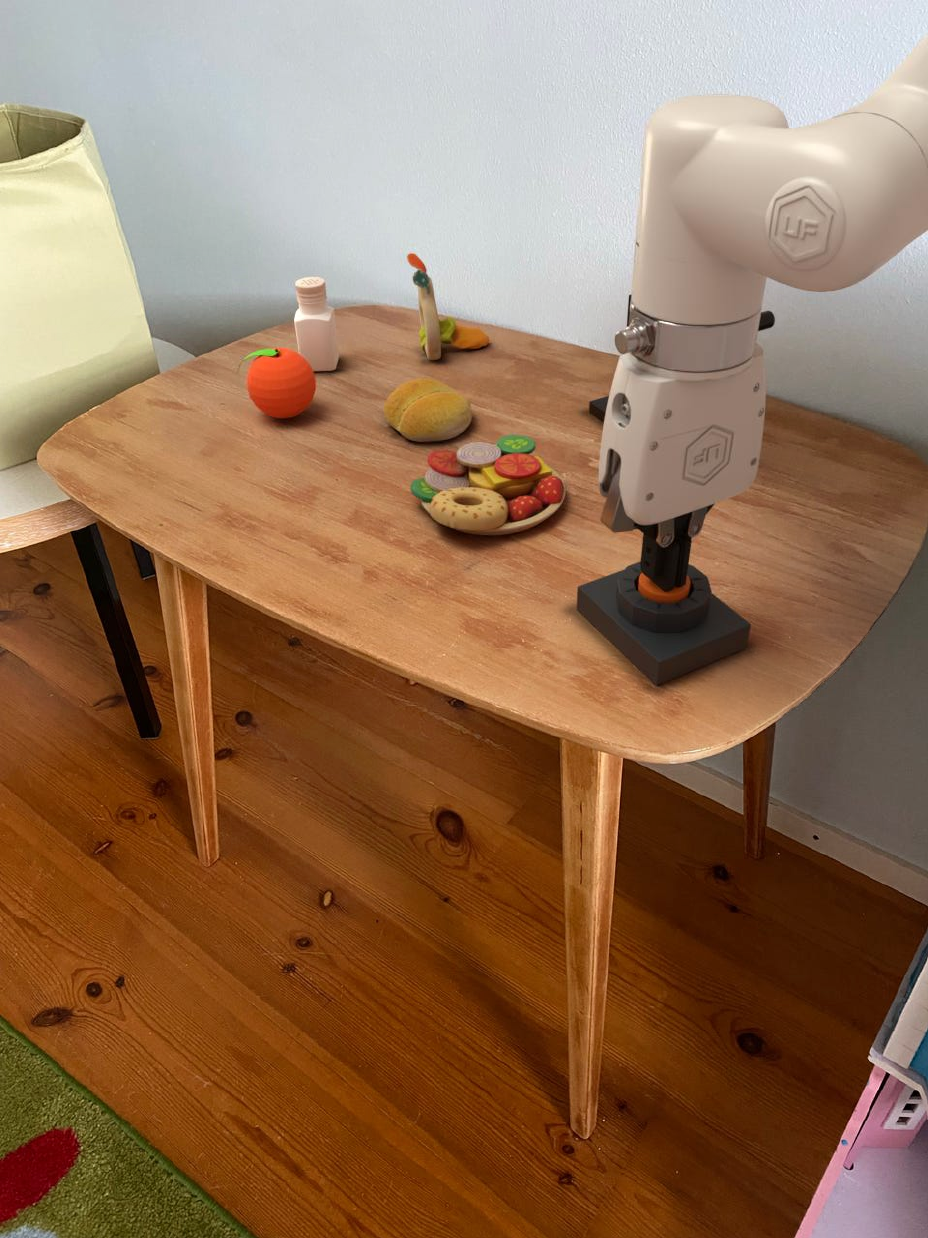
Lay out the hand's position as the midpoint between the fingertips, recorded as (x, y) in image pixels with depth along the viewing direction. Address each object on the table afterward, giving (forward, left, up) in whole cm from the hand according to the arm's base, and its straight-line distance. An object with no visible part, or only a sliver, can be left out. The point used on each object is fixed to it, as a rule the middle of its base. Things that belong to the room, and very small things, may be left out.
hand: (662, 578), depth 70 cm
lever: (+21, -19, +7) cm, 29 cm away
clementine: (+48, +12, -5) cm, 50 cm away
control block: (0, 0, -5) cm, 5 cm away
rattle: (+52, -10, -5) cm, 53 cm away
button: (0, 0, -2) cm, 2 cm away
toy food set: (+22, +2, -5) cm, 22 cm away
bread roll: (+38, 0, -5) cm, 38 cm away
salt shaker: (+57, +4, -5) cm, 57 cm away
